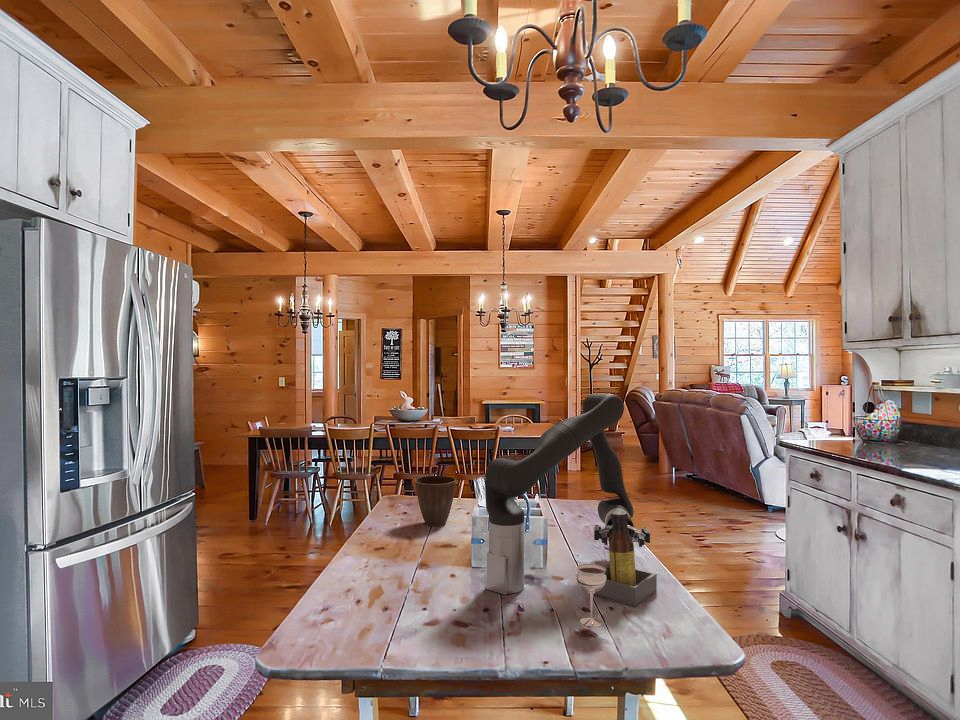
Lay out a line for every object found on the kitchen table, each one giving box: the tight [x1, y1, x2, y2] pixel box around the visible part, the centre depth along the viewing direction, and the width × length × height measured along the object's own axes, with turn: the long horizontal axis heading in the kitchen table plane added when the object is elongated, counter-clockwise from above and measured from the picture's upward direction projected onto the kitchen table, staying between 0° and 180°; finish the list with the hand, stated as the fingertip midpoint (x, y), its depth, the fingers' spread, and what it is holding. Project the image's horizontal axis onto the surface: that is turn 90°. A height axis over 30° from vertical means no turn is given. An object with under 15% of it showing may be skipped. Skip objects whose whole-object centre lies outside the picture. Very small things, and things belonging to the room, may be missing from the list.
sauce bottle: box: [608, 511, 636, 586], centre depth 151 cm, size 7×6×20 cm
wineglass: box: [576, 563, 607, 628], centre depth 134 cm, size 7×7×12 cm
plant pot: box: [414, 475, 457, 527], centre depth 215 cm, size 15×15×16 cm
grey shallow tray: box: [593, 563, 658, 608], centre depth 151 cm, size 13×13×5 cm
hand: (623, 542), depth 149 cm, fingers open, 8 cm apart
